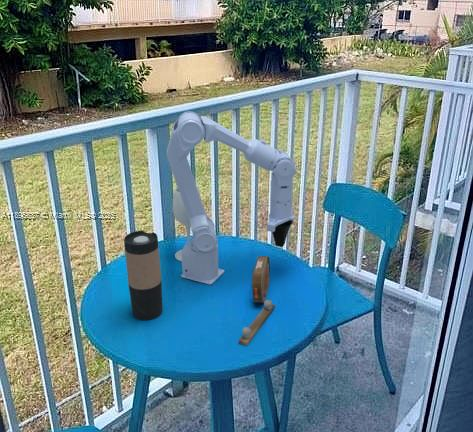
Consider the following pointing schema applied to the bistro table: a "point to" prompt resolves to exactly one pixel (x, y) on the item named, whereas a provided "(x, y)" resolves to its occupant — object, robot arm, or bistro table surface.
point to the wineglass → (181, 217)
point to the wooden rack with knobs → (256, 323)
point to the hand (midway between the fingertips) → (279, 245)
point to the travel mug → (144, 274)
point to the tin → (261, 278)
